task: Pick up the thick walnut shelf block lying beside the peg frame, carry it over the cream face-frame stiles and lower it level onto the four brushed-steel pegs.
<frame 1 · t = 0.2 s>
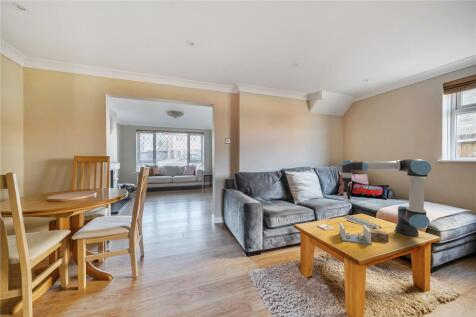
hand: (346, 201, 163), 27 cm above the table, fingers open, 13 cm apart
shelf block: (377, 239, 149), on the table
peg frame: (354, 238, 150), on the table
crown molding: (361, 223, 185), on the table
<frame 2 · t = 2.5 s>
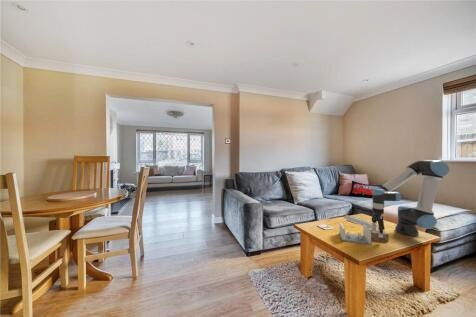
hand: (377, 233, 149), 4 cm above the table, fingers open, 13 cm apart
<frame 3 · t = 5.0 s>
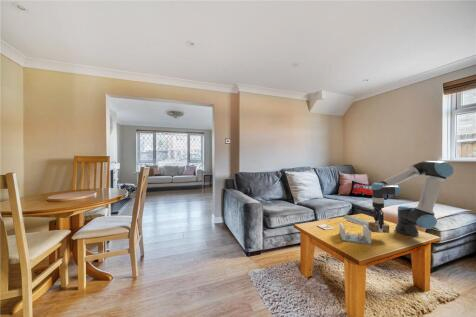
hand: (378, 230, 149), 7 cm above the table, fingers closed on shelf block, 6 cm apart
shelf block: (378, 231, 149), point 6 cm above the table, touching gripper
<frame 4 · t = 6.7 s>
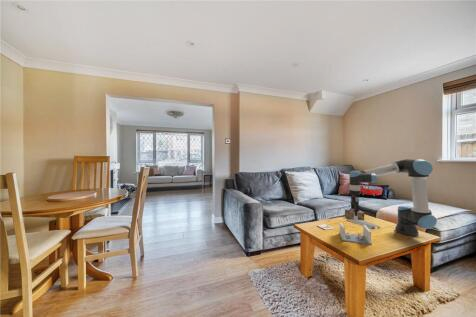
hand: (354, 218, 149), 17 cm above the table, fingers closed on shelf block, 6 cm apart
shelf block: (354, 218, 149), point 17 cm above the table, touching gripper
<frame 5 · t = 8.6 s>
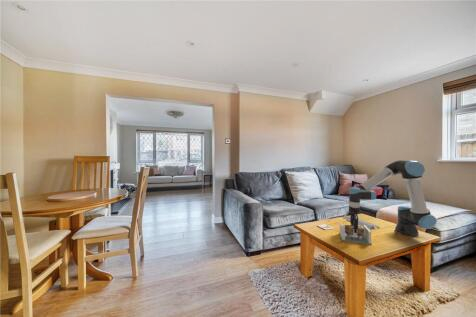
hand: (353, 234, 150), 4 cm above the table, fingers closed on shelf block, 6 cm apart
shelf block: (353, 234, 150), point 4 cm above the table, touching gripper, peg frame
when the fingers open (3 cm above the table, at t = 9.3 s): shelf block stays where it is, resting on peg frame.
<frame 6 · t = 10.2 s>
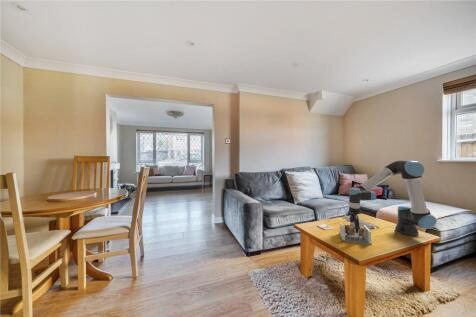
hand: (354, 233, 149), 5 cm above the table, fingers open, 13 cm apart
shelf block: (353, 234, 150), point 4 cm above the table, touching peg frame
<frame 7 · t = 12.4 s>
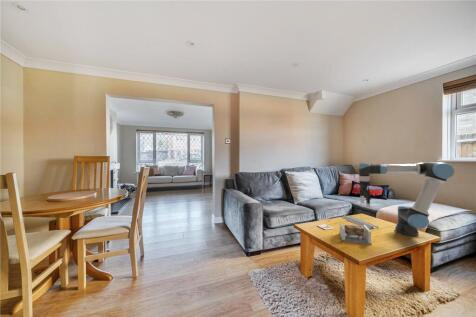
hand: (365, 205, 160), 25 cm above the table, fingers open, 13 cm apart
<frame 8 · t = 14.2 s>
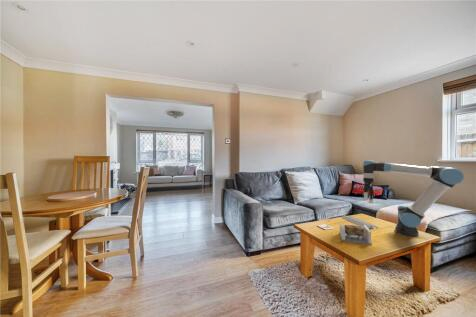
hand: (368, 201, 165), 27 cm above the table, fingers open, 13 cm apart
at the end: shelf block 0.3 cm off-centre on the peg frame, point 4.0 cm above the peg frame's base; shelf block tilted 0°; the gripper is holding nothing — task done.
